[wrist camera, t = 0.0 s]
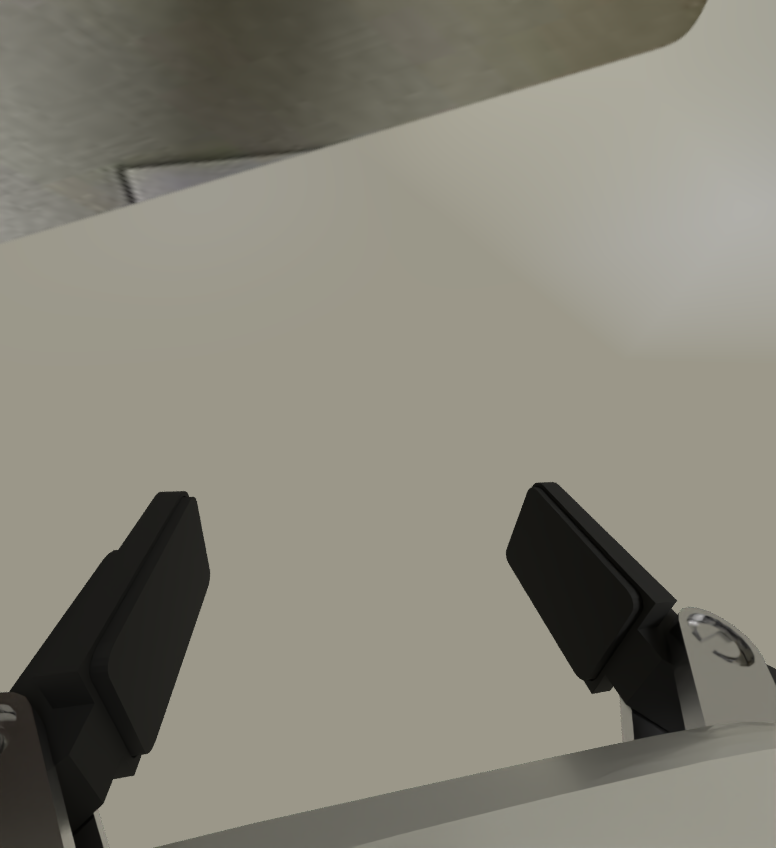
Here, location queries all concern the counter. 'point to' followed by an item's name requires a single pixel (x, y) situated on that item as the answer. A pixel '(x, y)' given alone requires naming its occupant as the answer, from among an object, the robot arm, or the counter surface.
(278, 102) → the counter surface
